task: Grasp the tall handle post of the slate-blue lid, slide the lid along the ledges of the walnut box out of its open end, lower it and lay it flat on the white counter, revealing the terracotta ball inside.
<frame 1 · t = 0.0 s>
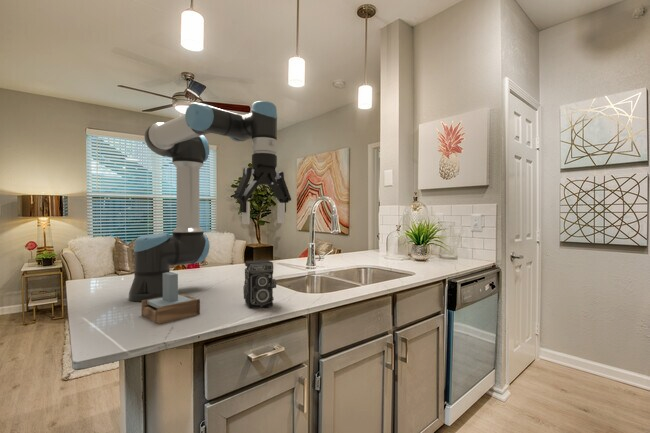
hand: (264, 223, 97), 28 cm above the table, fingers open, 13 cm apart
walnut box: (170, 316, 96), on the table
camera: (259, 307, 106), on the table
clay ball: (179, 312, 98), point 1 cm above the table, touching walnut box
lid plate: (170, 303, 96), point 4 cm above the table, touching walnut box
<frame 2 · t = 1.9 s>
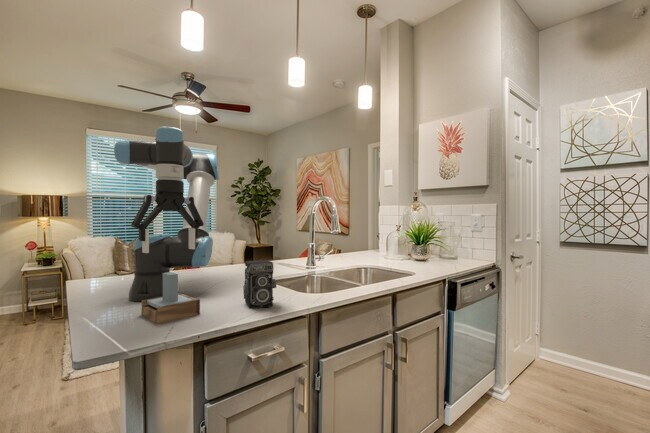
hand: (169, 250, 95), 20 cm above the table, fingers open, 13 cm apart
nothing on the table moved.
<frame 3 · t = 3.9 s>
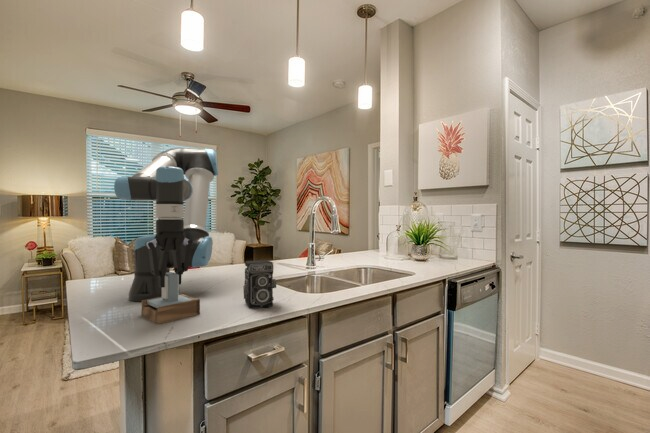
hand: (170, 296, 96), 6 cm above the table, fingers closed on lid plate, 2 cm apart
lid plate: (170, 303, 96), point 4 cm above the table, touching gripper, walnut box
everything else where it was.
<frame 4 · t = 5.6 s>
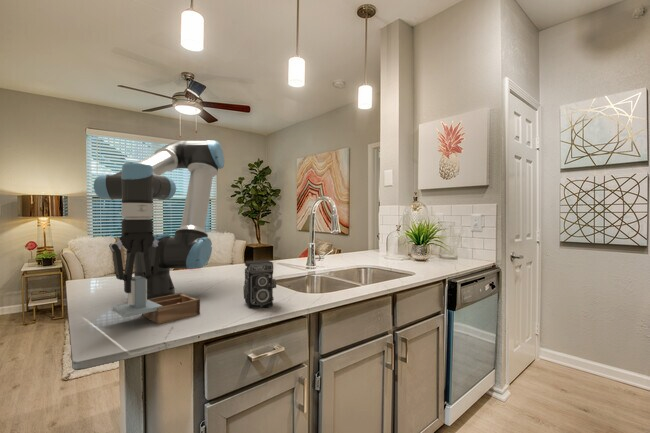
hand: (137, 302, 89), 6 cm above the table, fingers closed on lid plate, 2 cm apart
lid plate: (137, 309, 89), point 4 cm above the table, touching gripper
everything else where it was.
when the fingers open (2 cm above the table, at t = 7.5 s): lid plate stays where it is, on the table.
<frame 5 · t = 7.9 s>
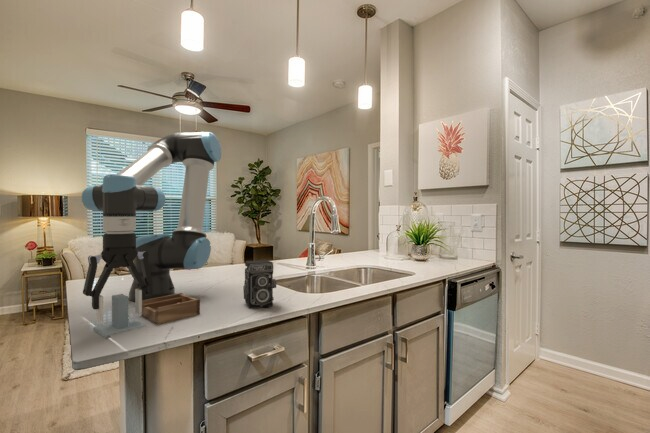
hand: (119, 316, 86), 3 cm above the table, fingers open, 8 cm apart
lid plate: (120, 329, 86), on the table
everything else where it was.
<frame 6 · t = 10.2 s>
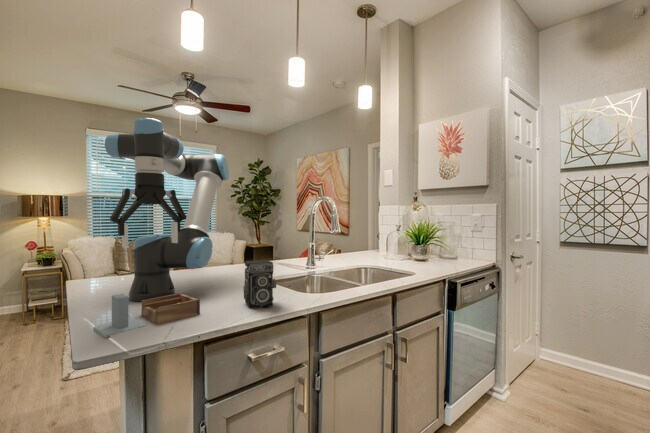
hand: (151, 244, 94), 22 cm above the table, fingers open, 13 cm apart
nothing on the table moved.
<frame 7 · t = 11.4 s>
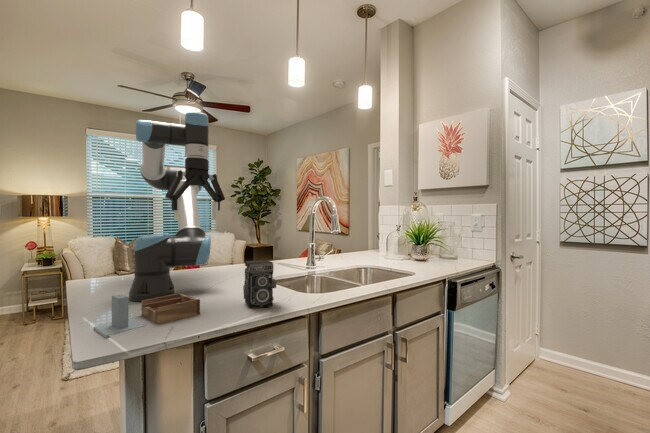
hand: (197, 220, 109), 29 cm above the table, fingers open, 13 cm apart
nothing on the table moved.
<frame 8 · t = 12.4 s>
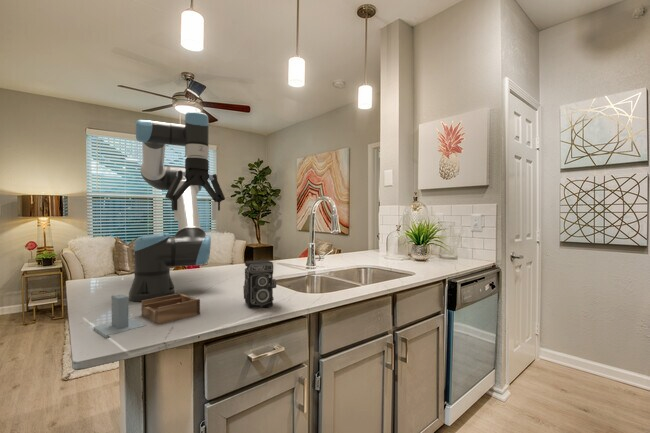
hand: (197, 220, 109), 29 cm above the table, fingers open, 13 cm apart
nothing on the table moved.
at the end: lid plate inside the target area (1.2 cm from its centre), on the table; lid plate tilted 0°; the gripper is holding nothing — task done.
